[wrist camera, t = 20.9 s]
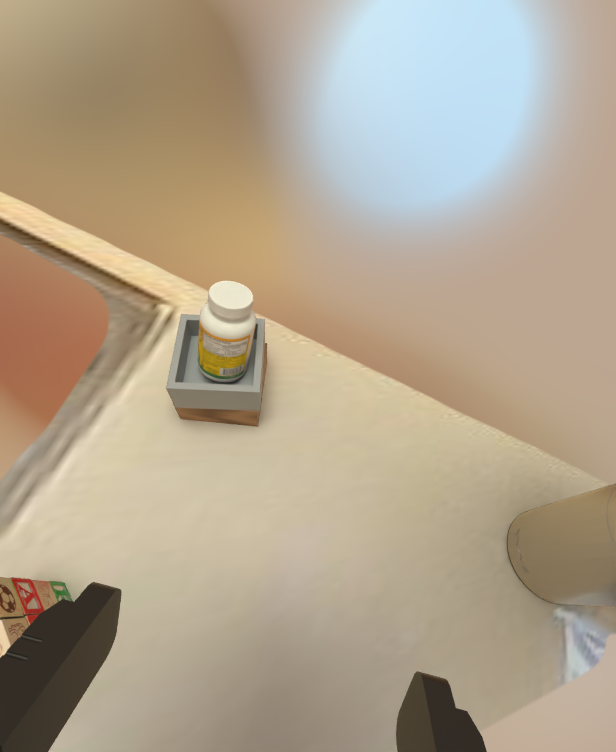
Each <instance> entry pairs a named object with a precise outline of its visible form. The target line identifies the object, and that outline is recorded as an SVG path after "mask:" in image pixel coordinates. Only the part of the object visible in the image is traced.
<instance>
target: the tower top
mask: <svg viewBox="0 0 616 752" xmlns="http://www.w3.org/2000/svg"><path fill="white" fill-rule="evenodd" d="M199 318H200V315H188V314H181V317H180V322H179V327H178V332H177V337H176V342H175V347H174V352H173V357H172V362H171V367H170V372H169V377H168V381H167V386H166V389H167V391H168V393H169V395H170V397H171V399H172V401H173V403H174V405H175V407H176V408H201V409H226V410H252V411H260V408H261V393H262V378H263V363H264V348H265V319H256V326H255V331H254V336H253V341H252V346H251V351H250V357H249V362H248V367H247V370H246V372H245V373H244V375H243V376H241V377H240V378H239V379H237V380H234V381H231V382H217V381H214V380H211V379H209V378H207V377H206V376H205V375H203V373H202V372H201V371H200V369H199V366H198V338H199Z"/></svg>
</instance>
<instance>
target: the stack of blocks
mask: <svg viewBox="0 0 616 752" xmlns="http://www.w3.org/2000/svg"><path fill="white" fill-rule="evenodd" d="M62 599H65V600H69V601H72V600H71V598H70V595H69V593H68V591H67V588H66V586H65V583H62V582H55V581H48V582H46V581H36V580H32V581H31V580H30V579H25V578H24V579H21V578H13V577H12V578H4V577H0V657H1V656H2V655H5V653H6V652H7V650H8V649H9V647H10V646H11V645H12V644H13V643H14V642H15V641H16V640H17V639H18V638H20V637H21V635H22V633H23V632H24V631H25V630H26V629H27V628H28V626H29V625H30V624H31V623H32V622H33V621H34V620H35V619H36V618H37V616H38V615H39V614H40V613H42V612H43V611H45V610H46V609H48V608H50V607H51V606H53V605H54V604H56V603H57V602H59V601H60V600H62Z"/></svg>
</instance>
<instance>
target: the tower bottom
mask: <svg viewBox="0 0 616 752" xmlns="http://www.w3.org/2000/svg"><path fill="white" fill-rule="evenodd" d="M266 364H267V343H265V348H264V363H263V378H262V392H263V385H264V378H265V371H266ZM261 400H262V393H261ZM173 404H174V403H173ZM174 406H175V405H174ZM175 408H176V407H175ZM176 411H177V413H178V415H179V417H180V419H188V420H198V421H208V422H218V423H228V424H238V425H248V426H258V421H259V414H260V411H252V410H226V409H201V408H176Z"/></svg>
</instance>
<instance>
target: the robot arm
mask: <svg viewBox="0 0 616 752" xmlns="http://www.w3.org/2000/svg"><path fill="white" fill-rule="evenodd" d="M507 544H508V553H509V556H510V560H511V563H512V565H513V567H514V569H515V572H516V573H517V575H518V576H519V578H520V579H521V581H522V582H523V583H524V584H525V585H526V586H527V587H528V588H529V589H530V590H531V591H532V592H533V593H535V594H536V595H537V596H539V597H541V598H542V599H544V600H546V601H549V602H552V603H556V604H568V605H588V606H616V484H613V485H609V486H606V487H603V488H600V489H597V490H593V491H590V492H587V493H584V494H581V495H578V496H574V497H571V498H568V499H565V500H562V501H558V502H555V503H552V504H549V505H545V506H542V507H539V508H536V509H533V510H530V511H527V512H525V513H522V514H521V515H519V516H518V517H517V518H516V519H515V520H514V522H513V523H512V525H511V527H510V530H509V533H508V541H507ZM120 601H121V590H120V589H118V588H114V587H110V586H107V585H103V584H99V583H96V582H93V583H91V584H90V585H88V586H87V588H86V589H85V590H84V591H83V592H82V593H81V595H80V596H79V597H78V598H77V600H76V601H75V602H72V601H69V600H65V599H62V600H60V601H59V602H57V603H56V604H54V605H53V606H51V607H50V608H48V609H46V610H45V611H43V612H42V613H40V614H39V615H38V616H37V618H36V619H35V620H34V621H33V622H32V623H31V624H30V625H29V626H28V628H27V629H26V630H25V631H24V632H23V633H22V635H21V637H20V638H18V639H17V640H16V641H15V642H14V643H13V644H12V645H11V646H10V647H9V649H8V650H7V652H6V653H5V655H2V656H1V657H0V752H48V751H49V749H50V747H51V746H52V744H53V743H54V741H55V739H56V738H57V736H58V735H59V733H60V731H61V730H62V728H63V727H64V725H65V723H66V722H67V720H68V719H69V717H70V715H71V714H72V712H73V711H74V709H75V708H76V706H77V704H78V703H79V701H80V700H81V698H82V696H83V695H84V693H85V692H86V690H87V688H88V687H89V685H90V684H91V682H92V680H93V679H94V677H95V676H96V674H97V672H98V671H99V669H100V668H101V666H102V664H103V663H104V661H105V659H106V658H107V656H108V654H109V652H110V650H111V647H112V645H113V642H114V640H115V636H116V632H117V625H118V617H119V609H120ZM396 741H397V751H398V752H486V748H485V745H484V741H483V738H482V736H481V734H480V733H479V731H478V729H477V727H476V726H475V724H474V722H473V721H472V719H471V717H470V715H469V714H468V712H467V711H464V710H460V709H457V708H456V707H455V704H454V700H453V696H452V692H451V688H450V685H449V683H448V681H447V680H446V679H443V678H440V677H436V676H432V675H429V674H425V673H421V672H416V673H415V674H414V676H413V679H412V681H411V684H410V686H409V688H408V691H407V693H406V696H405V698H404V701H403V703H402V706H401V708H400V711H399V714H398V719H397V729H396Z"/></svg>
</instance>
